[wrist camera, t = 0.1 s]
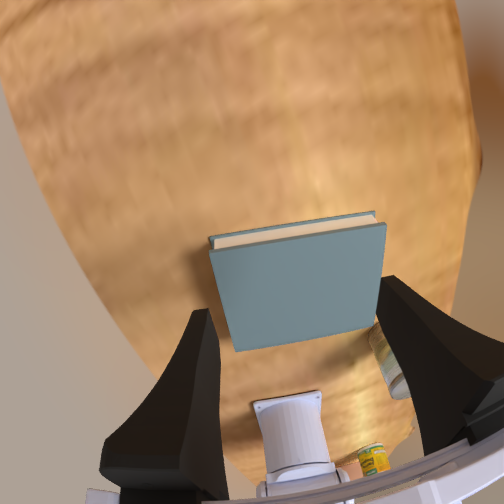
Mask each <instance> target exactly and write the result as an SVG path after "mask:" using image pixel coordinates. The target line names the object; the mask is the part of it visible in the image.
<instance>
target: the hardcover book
mask: <svg viewBox="0 0 504 504" xmlns="http://www.w3.org/2000/svg"><path fill="white" fill-rule="evenodd" d="M386 230H387V224H386V223H385V222H381V223H378V221H377V220H376V219H375V211H369V212H362V213H355V214H348V215H341V216H335V217H328V218H321V219H315V220H308V221H302V222H295V223H289V224H282V225H276V226H270V227H263V228H257V229H251V230H245V231H239V232H233V233H227V234H221V235H215V236H210V241H211V246H212V250H209V256H210V260H211V264H212V268H213V272H214V276H215V279H216V283H217V287H218V291H219V295H220V298H221V302H222V306H223V309H224V313H225V317H226V320H227V324H228V328H229V331H230V335H231V338H232V342H233V346H234V349H235V352H240V351H247V350H254V349H260V348H266V347H272V346H278V345H284V344H290V343H295V342H301V341H306V340H311V339H316V338H321V337H326V336H331V335H336V334H340V333H345V332H350V331H354V330H358V329H363V328H367V327H371V326H373V325H374V320H375V314H376V307H377V301H378V294H379V287H380V280H381V274H382V266H383V258H384V249H385V240H386Z"/></svg>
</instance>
